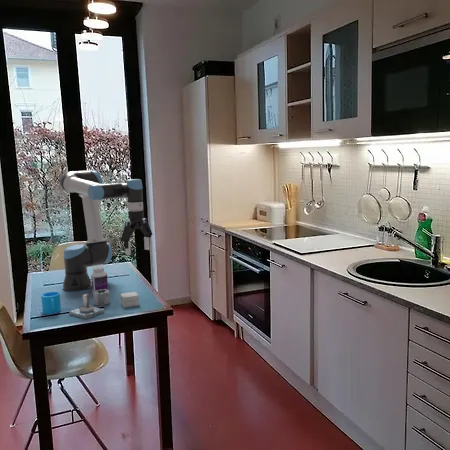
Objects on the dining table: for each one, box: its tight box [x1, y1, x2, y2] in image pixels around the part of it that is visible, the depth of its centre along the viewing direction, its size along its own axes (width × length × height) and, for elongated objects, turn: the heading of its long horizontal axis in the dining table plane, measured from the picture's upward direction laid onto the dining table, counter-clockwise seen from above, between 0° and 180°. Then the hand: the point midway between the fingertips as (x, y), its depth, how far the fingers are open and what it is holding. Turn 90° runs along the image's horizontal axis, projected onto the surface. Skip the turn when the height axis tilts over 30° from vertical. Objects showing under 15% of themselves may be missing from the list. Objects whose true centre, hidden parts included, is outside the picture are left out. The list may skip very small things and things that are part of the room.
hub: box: [93, 289, 111, 306], centre depth 223 cm, size 7×7×6 cm
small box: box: [119, 291, 140, 308], centre depth 221 cm, size 8×8×5 cm
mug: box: [40, 291, 62, 315], centre depth 212 cm, size 12×8×8 cm
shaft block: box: [68, 293, 105, 320], centre depth 208 cm, size 12×10×9 cm
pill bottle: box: [90, 266, 109, 296], centre depth 237 cm, size 8×8×14 cm
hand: (137, 252), depth 229 cm, fingers open, 13 cm apart
